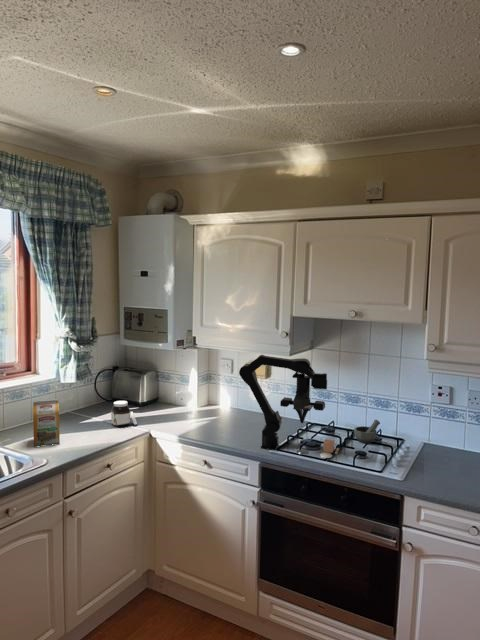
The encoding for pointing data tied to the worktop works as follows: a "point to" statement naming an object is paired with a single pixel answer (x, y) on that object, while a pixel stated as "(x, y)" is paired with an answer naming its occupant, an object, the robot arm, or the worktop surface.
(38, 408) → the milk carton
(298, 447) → the selector rail
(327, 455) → the ceramic puck
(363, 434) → the mortar and pestle
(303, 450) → the steel puck
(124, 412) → the spread jar
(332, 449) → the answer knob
